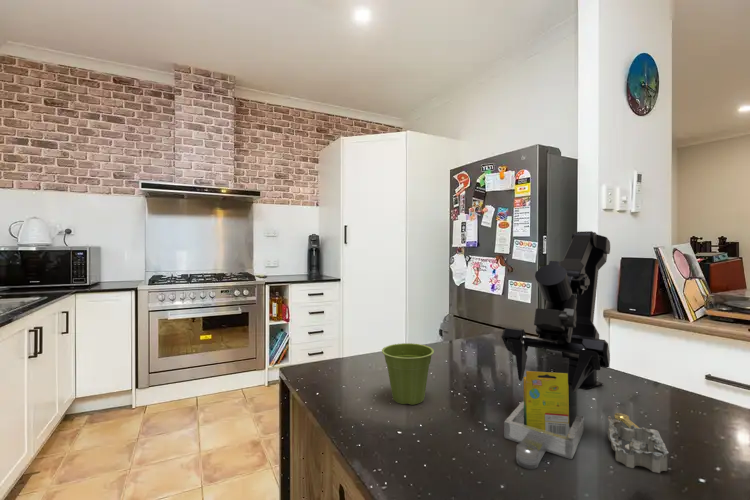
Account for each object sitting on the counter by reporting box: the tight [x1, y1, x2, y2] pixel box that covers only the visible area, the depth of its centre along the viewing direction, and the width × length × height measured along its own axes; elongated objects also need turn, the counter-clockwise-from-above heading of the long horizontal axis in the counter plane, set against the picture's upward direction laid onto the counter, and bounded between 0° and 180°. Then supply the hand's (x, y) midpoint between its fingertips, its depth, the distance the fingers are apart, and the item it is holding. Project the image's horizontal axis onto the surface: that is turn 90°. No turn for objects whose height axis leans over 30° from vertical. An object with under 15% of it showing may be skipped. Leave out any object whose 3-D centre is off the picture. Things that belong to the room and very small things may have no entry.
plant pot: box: [381, 342, 435, 406], centre depth 84 cm, size 12×12×11 cm
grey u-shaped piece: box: [503, 400, 584, 470], centre depth 65 cm, size 18×11×3 cm, turn 142°
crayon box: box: [523, 370, 570, 437], centre depth 68 cm, size 7×3×12 cm, turn 78°
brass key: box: [614, 412, 640, 429], centre depth 72 cm, size 7×2×1 cm, turn 174°
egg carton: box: [607, 415, 670, 474], centre depth 62 cm, size 11×8×4 cm
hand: (545, 385), depth 68 cm, fingers open, 9 cm apart
